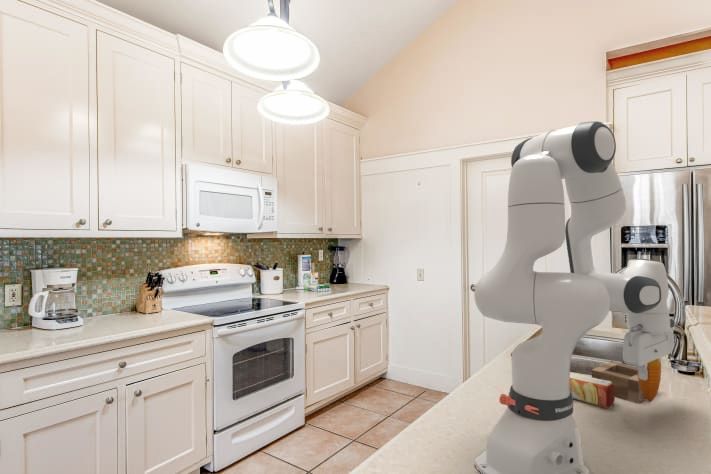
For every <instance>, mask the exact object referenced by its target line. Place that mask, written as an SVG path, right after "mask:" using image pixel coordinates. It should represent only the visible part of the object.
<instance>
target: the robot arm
mask: <svg viewBox="0 0 711 474" xmlns="http://www.w3.org/2000/svg"><path fill="white" fill-rule="evenodd" d="M616 149H617V143H616V139H615V136H614V133H613V131H612V130H611V128H610V127H609V126H607V125H606V124H604V123H603V122H601V121H595V120H594V121H585V122H580V123H578V124H577V125H576V124H575V125H571V126H567V127H563V128H562V127H561V128H558V129H552V130H549V131H546V132H543V133H541V134H538V135H536V136H534V137H529V138H527V139H525V140H523V141H521V142H519V143H518V144H517V145H516V146H515V147H514V149H513V151H512V154H511V157H510V158H511V160H510V163H511V164H510V165H511V170H510V177H509V183H508V191H507V235H506V242H505V247H504V250H503V252H502V254H501V256H500V257H499V259H498V261H497V263H495V265H494V267H492V268H491V269H490V270H489V271H488V272H486V273H485V274H484V275H483V276H481V277H480V278H479V280H478V282H477V283H476V285H475V288H474V293H473V295H474V296H473V297H474V302H475V306H476V308H477V310H478V311H479V313H480V314H481V315H482V316H483V317H485V318H489V319H492V320H496V321H501V322H502V323H503V322H504V323H511V324H512V323H514V324H528V325H537V326H539V327H541V331H542V332H541V334H539V335H537V336H536V337H533V338H530V339H527V340H525V341H523V342H521V343H518V345H516V346H515V347H514V349H513V350H512V353H511V384H512V385H510V388H509V392H508V395H507V394H505V393H501V394H500V395H499V396H500V397H499V399H498V400H499V404H501V405H506V406H507V407H506V409H505V410H504V412H503V414H502V415H501V416H500V418H499V419H498V420H497V422H496V423H495V424H494V426H493V428H492V429H491V431H490V432H489V433H488V436H487V438H486V439H487V441H486V449H485V450H484V451H483V452H482V453H480V454H479V455H478V456H477V457H476V458H475V459H474V463H475V464H474V467H475V466H476V467H477V468H478V469H477V468H476V467H475V468H476V469H477V471H478V470H479V471H480V472H481V473H480V472H479V471H478V472H479V473H480V474H482V473H483V474H590V469H588V467H587V466H586V465H585V464H584V457H583V451H582V441H581V440H582V439H581V433H580V430H579V428H578V426H577V424H576V423H575V420H574V418H573V413H574V399H573V398H572V393H571V392H570V373H571V361H572V356H573V353H574V350H575V348H576V347H577V344H578V342H579V341H580V340H581V339H582V337H584V335H586V334H587V333H588V332H589V331H591V330H592V329H594V328H595V327H597V326H599V325H600V324H602V323H603V321H605V319H606V318H607V316H608V314H609V312H615V313H623V314H626V328H628V329H629V331H628V332H626V333H625V334H624V337H623V344H622V346H623V347H622V360H623V362H624V363H623V364H625V365H629V366H634V367H636V368H637V370H638V373H639V379H642V380H647V379H649V372H648V371H647V366H648V363H649V362H651V361H654V360H656V359H657V360H659V361H660V362H662V358H663V357H666V356H668V355H670V354H672V352H673V348H674V329H673V328H675V327H676V319H675V318H673V317H671V316H670V309H669V307H668V303H667V302H668V298H669V282H668V275H667V271H666V267H665V265H664V263H663V262H661V261H660V260H656V259H649V258H648V259H647V258H632V259H629V260H628V261H627V266H626V268H625V269H624V270H623V271H621V272H617V273H615V272H602V271H599V270H597V269H596V268H595V267H594V260H593V253H592V245H591V241H592V238H593V237H594V236H595V235H598V234H599V233H602V232H604V231H607V230H608V229H610V228H612V227H614V226H615V225H616V224H617V223H619V222H620V220H621V219H622V218H623V216H624V215H625V212H626V208H627V202H626V201H627V200H626V197H625V193H624V189H623V186H622V182H621V181H620V177H619V175H618V172H617V170H616V168H615V165H614V164H613V160H614V157H615V155H616V151H617V150H616ZM563 180H564V183H565V188H566V189H565V190H566V194H567V196H568V201H569V205H570V217H569V218H568V219H567V221H566V214H565V213H566V212H565V206H566V205H565V193H564V185H563ZM564 242H565V243H566V249H567V256H568V263H569V270H570V272H557V271H555V272H553V271H550V272H549V271H545V272H544V271H543V272H542V271H536V270H534V265H535V263H536V262H537V260H539V259H541V258H543V257H546V256H547V255H550V254H552V253H554V252H555V251H557V250H558V249H560V248H561V247H562V245H563V244H564ZM655 349H656V350H657V351H658V352H655Z"/></svg>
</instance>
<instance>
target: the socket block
mask: <svg viewBox="0 0 711 474" xmlns="http://www.w3.org/2000/svg"><path fill="white" fill-rule="evenodd" d="M591 377H592V378H597V379H601V380H606V381H611V382H612V383H613V385H614V390H615V398H618V399H621V400H625V401H628V402H633V403H635V404H640V403H642V402H644V401H645V400H646V398H645V397H644V395H643V393H642V390H641V388H640V384H639V379H638V372H637V368H636V366H633V365H628V364H625V363H619V362H615V361H609V362H606V363H604V364H602V365H600V366H597V367H595V368H593V369H591Z"/></svg>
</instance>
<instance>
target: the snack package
mask: <svg viewBox="0 0 711 474" xmlns="http://www.w3.org/2000/svg"><path fill="white" fill-rule="evenodd" d="M570 392H571V393H572V399H573V400H578V401H581V402H585V403H588V404H591V405H594V406H597V407H601V408H603V409H609V408H610V407H612V406H613V404H614V403H615V398H616V397H615V390H614V385H613V383H612V382H611V381H606V380H601V379H597V378H592V376H591V377H590V376H586V375H582V374H579V373H577V374H576V373H572V372H570Z"/></svg>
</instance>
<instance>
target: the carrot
mask: <svg viewBox="0 0 711 474" xmlns="http://www.w3.org/2000/svg"><path fill="white" fill-rule="evenodd" d="M655 352H658V351H657V350H656V349H655ZM661 362H662V361H661ZM661 362H660V361H659V360H657V359H656V360H654V361H651V362H649V363H648V366H647V371H648V372H649V379H647V380H642V379H639V373H638V379H639V384H640V388H641V390H642V393H643V395H644V397H645V398H646V399H645V400H646V401H647V402H648V403H651V402H653V401H654V399H655V398H656V396H657V394H658V392H659V389H660V386H661V385H660V384H661V380H662V379H661V378H662V376H661V375H662V363H661ZM637 372H638V370H637Z"/></svg>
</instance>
